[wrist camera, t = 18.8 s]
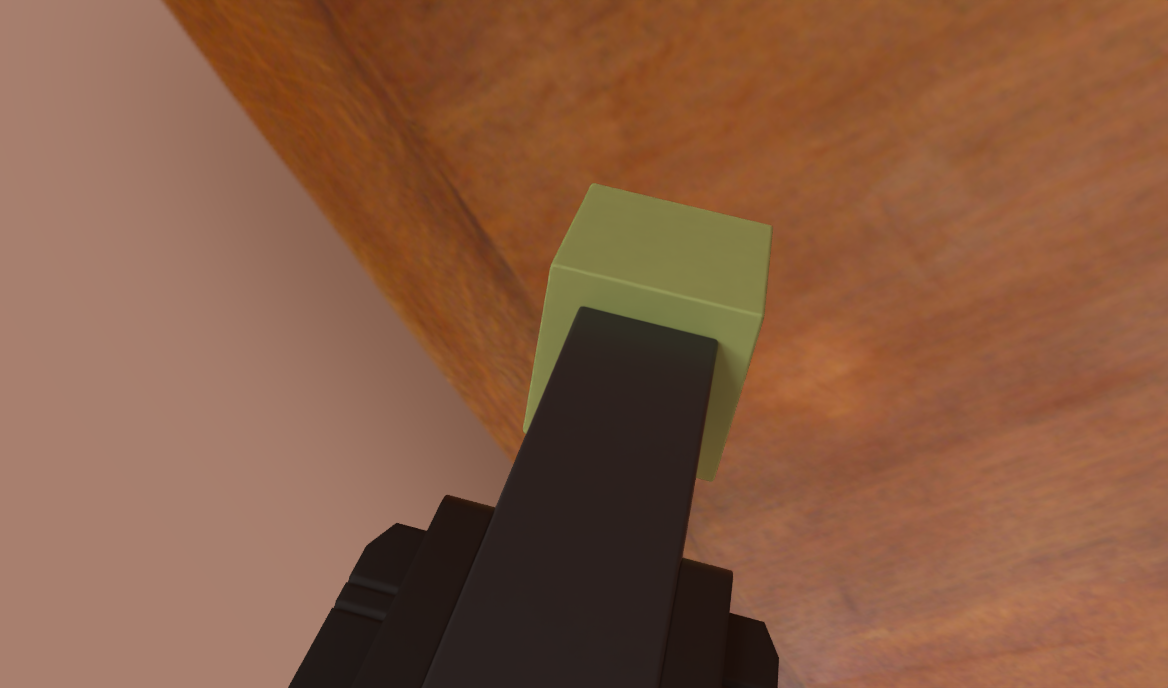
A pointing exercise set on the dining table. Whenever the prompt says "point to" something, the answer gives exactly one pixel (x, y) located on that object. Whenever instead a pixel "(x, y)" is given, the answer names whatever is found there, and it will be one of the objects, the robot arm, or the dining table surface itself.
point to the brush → (611, 447)
